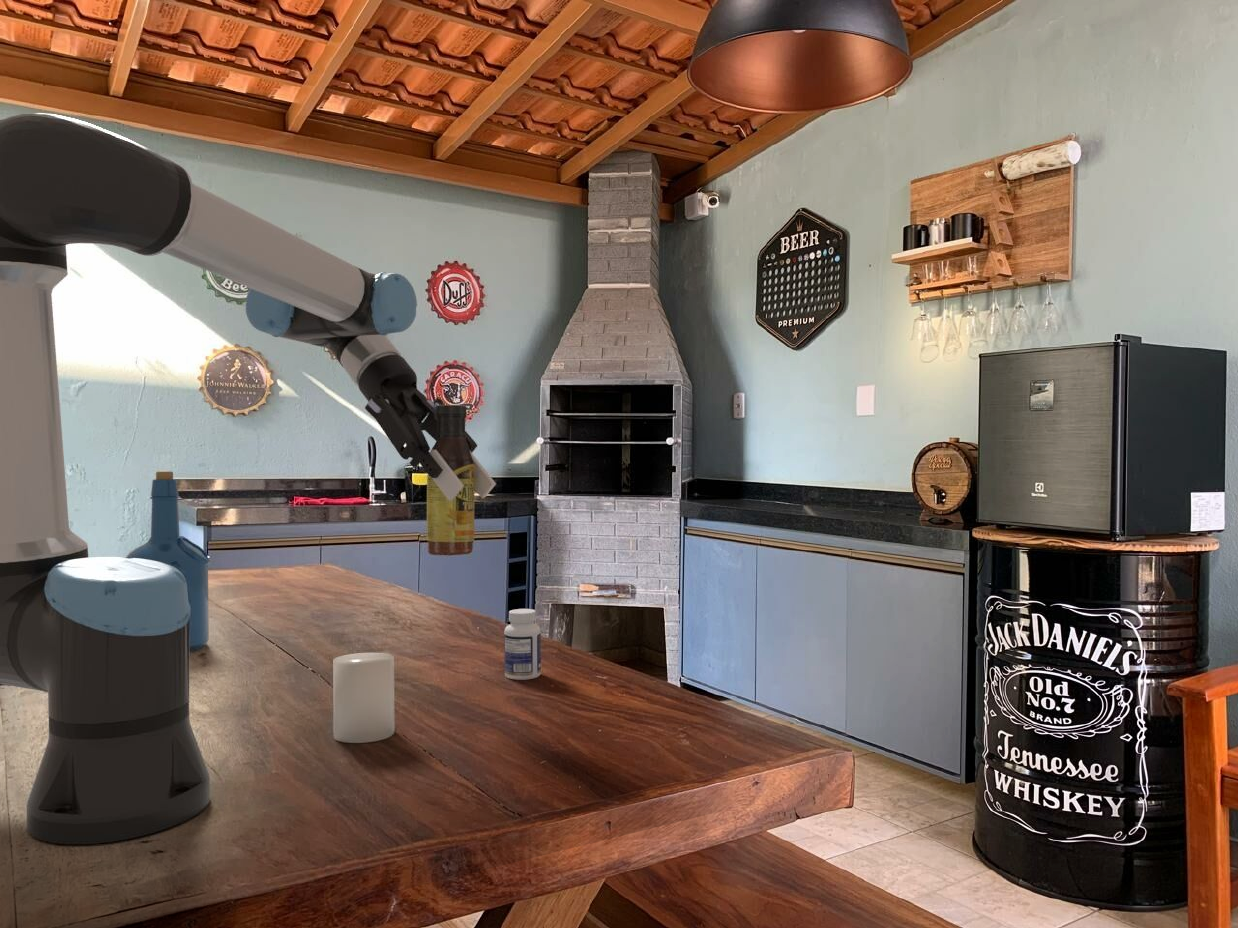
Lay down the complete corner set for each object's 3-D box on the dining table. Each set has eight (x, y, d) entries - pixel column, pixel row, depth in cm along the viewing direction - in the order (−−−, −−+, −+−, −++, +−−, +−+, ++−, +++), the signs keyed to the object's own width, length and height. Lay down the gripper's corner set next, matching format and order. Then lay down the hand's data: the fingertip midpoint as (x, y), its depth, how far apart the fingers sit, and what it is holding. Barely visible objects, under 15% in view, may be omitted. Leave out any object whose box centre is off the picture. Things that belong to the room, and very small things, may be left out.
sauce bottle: (464, 557, 121) (463, 404, 120) (419, 556, 122) (418, 404, 121) (481, 551, 127) (481, 405, 127) (438, 550, 128) (437, 406, 128)
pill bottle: (522, 669, 143) (522, 606, 143) (548, 675, 139) (548, 610, 139) (496, 676, 139) (496, 611, 138) (522, 682, 135) (522, 615, 135)
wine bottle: (112, 660, 149) (110, 472, 148) (132, 643, 162) (130, 470, 161) (205, 654, 153) (203, 471, 152) (217, 638, 165) (215, 469, 165)
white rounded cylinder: (402, 736, 110) (402, 660, 110) (343, 746, 106) (342, 667, 106) (383, 722, 116) (383, 650, 116) (326, 731, 112) (326, 656, 112)
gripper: (412, 394, 140) (500, 507, 132) (313, 387, 123) (407, 515, 116) (439, 357, 137) (531, 470, 130) (342, 345, 121) (440, 474, 113)
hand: (472, 491), depth 123 cm, fingers closed on sauce bottle, 6 cm apart
